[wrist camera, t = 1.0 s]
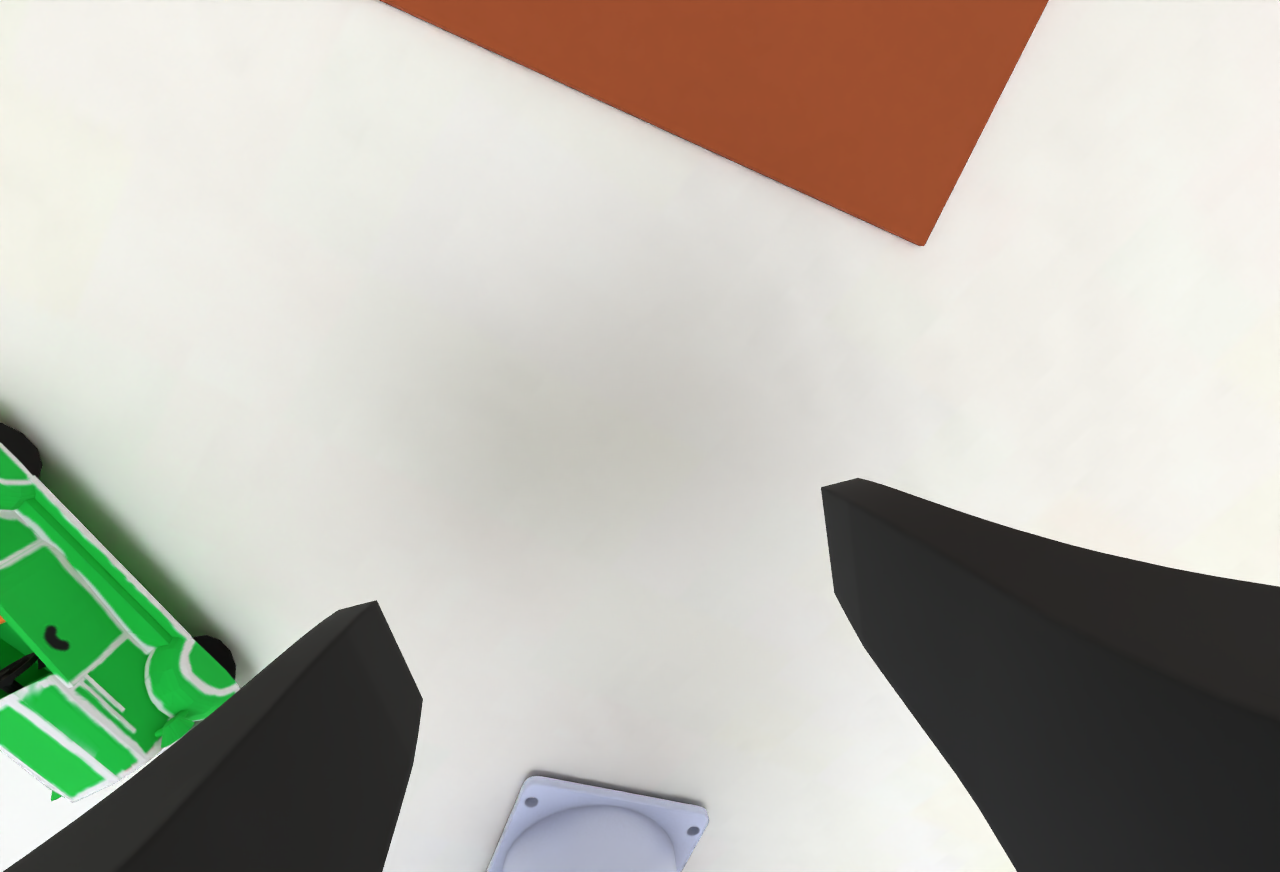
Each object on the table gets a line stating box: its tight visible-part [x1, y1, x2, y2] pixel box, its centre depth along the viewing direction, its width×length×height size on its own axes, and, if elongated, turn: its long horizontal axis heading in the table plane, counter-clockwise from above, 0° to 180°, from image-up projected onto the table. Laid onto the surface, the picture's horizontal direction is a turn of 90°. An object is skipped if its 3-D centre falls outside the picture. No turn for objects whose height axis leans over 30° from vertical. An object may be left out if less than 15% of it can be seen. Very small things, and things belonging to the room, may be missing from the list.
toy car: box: [0, 423, 240, 802], centre depth 17 cm, size 12×5×4 cm, turn 25°
